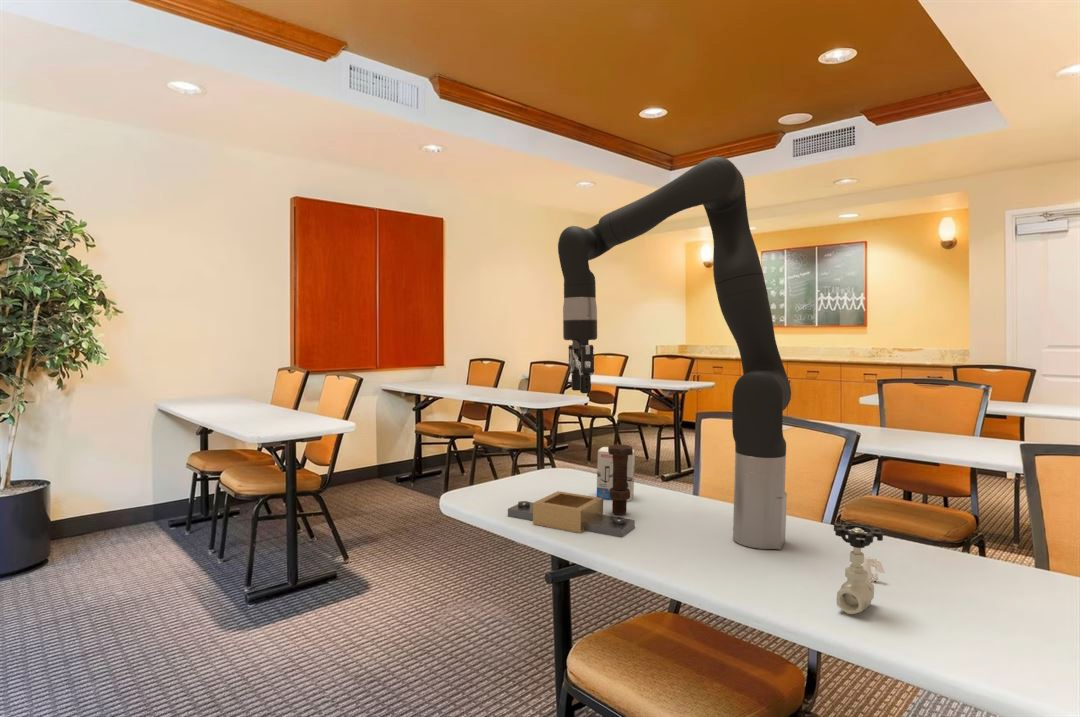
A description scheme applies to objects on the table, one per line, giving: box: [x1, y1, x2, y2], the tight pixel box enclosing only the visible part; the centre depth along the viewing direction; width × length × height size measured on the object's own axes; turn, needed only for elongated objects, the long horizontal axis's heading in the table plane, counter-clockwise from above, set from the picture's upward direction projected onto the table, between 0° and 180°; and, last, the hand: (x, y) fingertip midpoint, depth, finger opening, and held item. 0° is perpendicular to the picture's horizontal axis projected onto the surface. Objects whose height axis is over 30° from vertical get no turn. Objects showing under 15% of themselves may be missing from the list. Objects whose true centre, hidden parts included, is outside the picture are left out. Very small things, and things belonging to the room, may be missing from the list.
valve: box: [833, 521, 884, 615], centre depth 92 cm, size 7×7×12 cm
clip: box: [861, 555, 885, 582], centre depth 103 cm, size 5×2×4 cm, turn 41°
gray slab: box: [507, 500, 534, 522], centre depth 137 cm, size 8×7×2 cm
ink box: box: [596, 446, 636, 502], centre depth 151 cm, size 9×5×12 cm, turn 73°
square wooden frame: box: [532, 490, 604, 534], centre depth 132 cm, size 11×11×4 cm
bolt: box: [607, 444, 634, 516], centre depth 138 cm, size 6×5×15 cm
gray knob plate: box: [585, 513, 636, 538], centre depth 128 cm, size 9×7×2 cm
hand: (580, 391), depth 139 cm, fingers open, 8 cm apart
